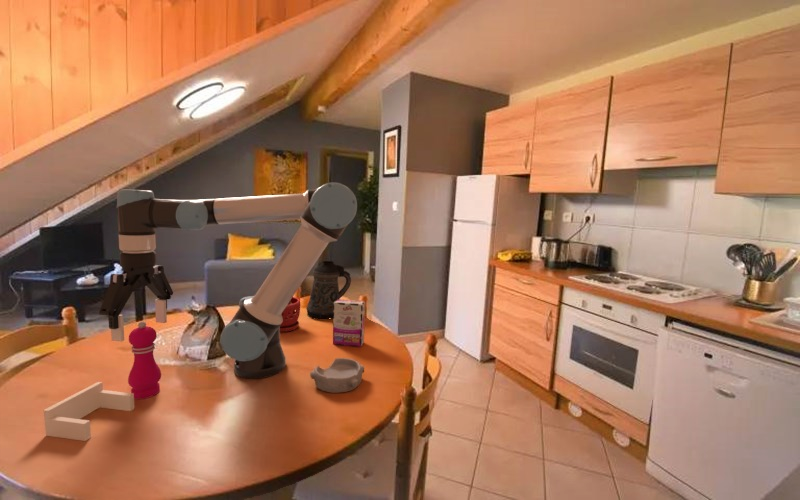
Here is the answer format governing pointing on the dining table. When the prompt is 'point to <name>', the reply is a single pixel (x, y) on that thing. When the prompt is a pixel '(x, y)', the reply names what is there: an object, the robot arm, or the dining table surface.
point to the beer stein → (326, 289)
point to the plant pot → (290, 315)
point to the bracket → (83, 411)
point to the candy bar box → (348, 322)
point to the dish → (338, 375)
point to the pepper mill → (144, 363)
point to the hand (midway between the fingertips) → (141, 330)
